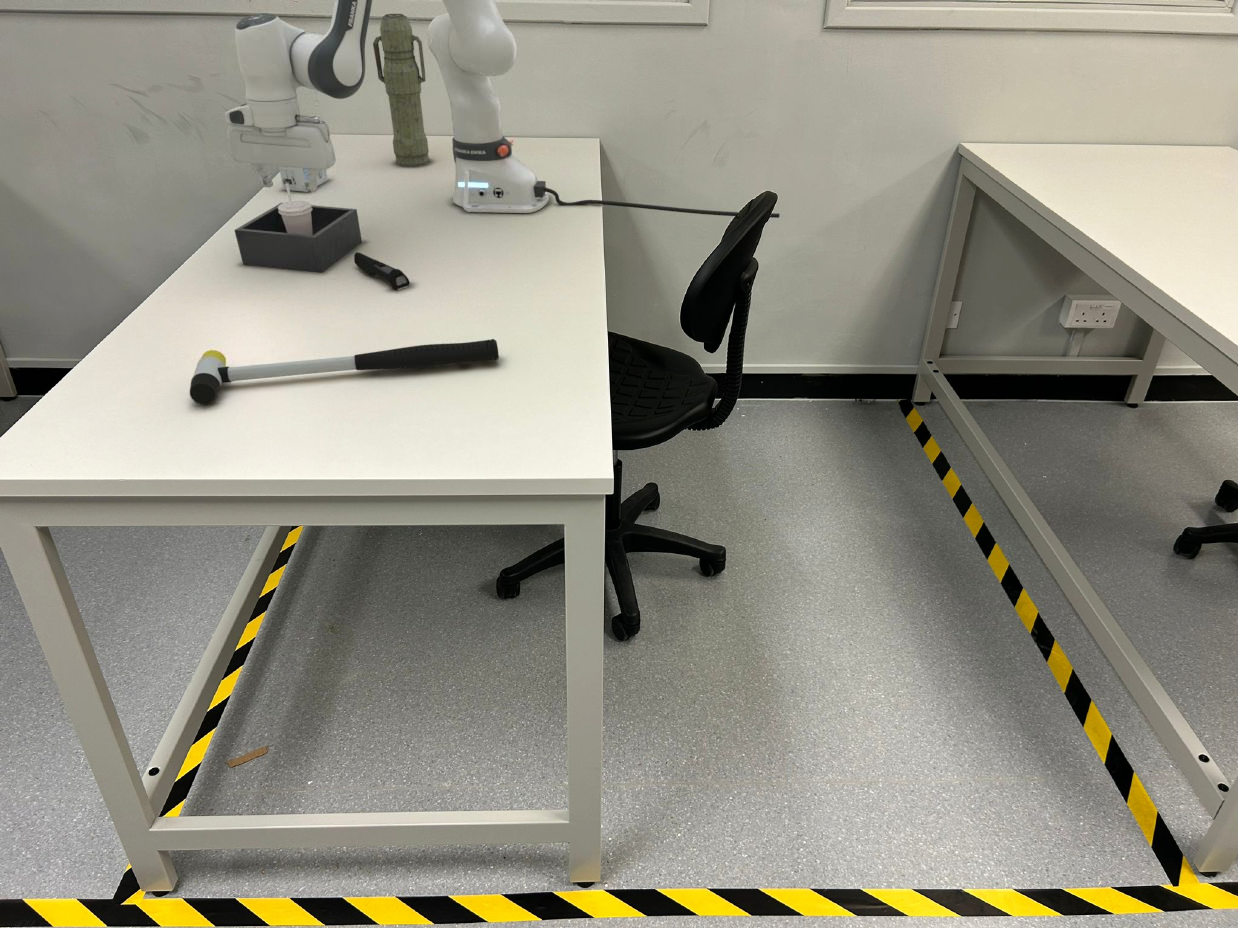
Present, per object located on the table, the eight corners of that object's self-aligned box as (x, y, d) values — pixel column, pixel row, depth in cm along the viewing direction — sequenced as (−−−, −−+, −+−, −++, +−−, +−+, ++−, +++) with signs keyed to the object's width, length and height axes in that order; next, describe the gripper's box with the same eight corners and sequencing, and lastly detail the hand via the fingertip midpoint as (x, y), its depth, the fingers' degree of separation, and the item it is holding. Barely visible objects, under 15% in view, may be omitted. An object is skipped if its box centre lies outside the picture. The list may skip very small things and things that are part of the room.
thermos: (391, 158, 231) (370, 13, 211) (435, 157, 232) (419, 12, 212) (388, 167, 224) (366, 18, 204) (434, 166, 225) (417, 17, 205)
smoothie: (291, 247, 176) (276, 179, 168) (323, 247, 177) (310, 178, 169) (284, 259, 171) (268, 189, 163) (317, 258, 172) (303, 188, 164)
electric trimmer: (368, 264, 170) (365, 248, 168) (411, 285, 161) (409, 269, 159) (351, 269, 168) (348, 253, 166) (394, 291, 159) (392, 275, 157)
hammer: (191, 407, 124) (184, 383, 122) (203, 372, 133) (197, 349, 130) (501, 376, 133) (500, 353, 130) (494, 345, 141) (492, 323, 139)
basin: (362, 242, 179) (356, 209, 175) (322, 272, 166) (315, 237, 162) (288, 235, 182) (281, 202, 178) (242, 264, 169) (234, 230, 165)
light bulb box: (308, 192, 206) (299, 146, 200) (282, 190, 207) (272, 144, 201) (329, 180, 214) (321, 135, 208) (304, 178, 216) (295, 133, 209)
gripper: (334, 113, 159) (346, 188, 167) (235, 106, 163) (252, 179, 171) (317, 121, 154) (330, 198, 162) (216, 113, 158) (233, 189, 165)
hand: (289, 188), depth 166 cm, fingers open, 8 cm apart
